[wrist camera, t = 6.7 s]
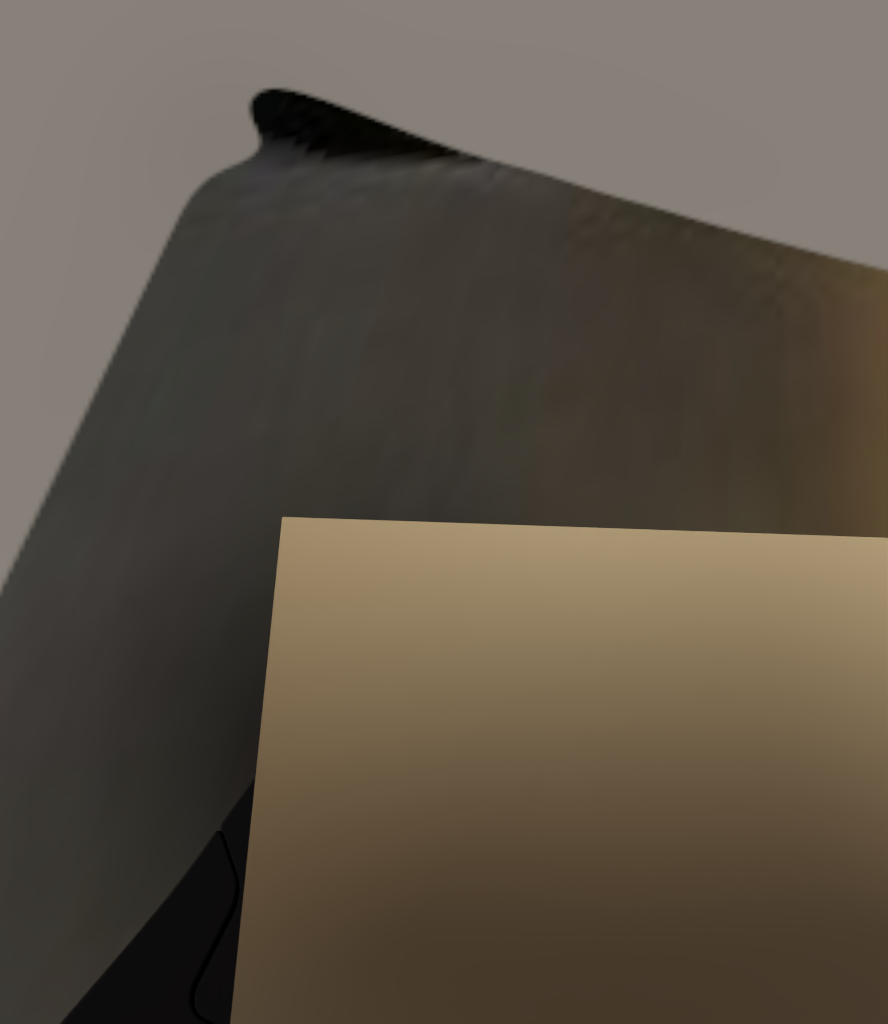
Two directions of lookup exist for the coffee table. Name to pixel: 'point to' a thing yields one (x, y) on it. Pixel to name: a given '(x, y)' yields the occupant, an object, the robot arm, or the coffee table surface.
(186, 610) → the coffee table surface
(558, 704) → the birch block
